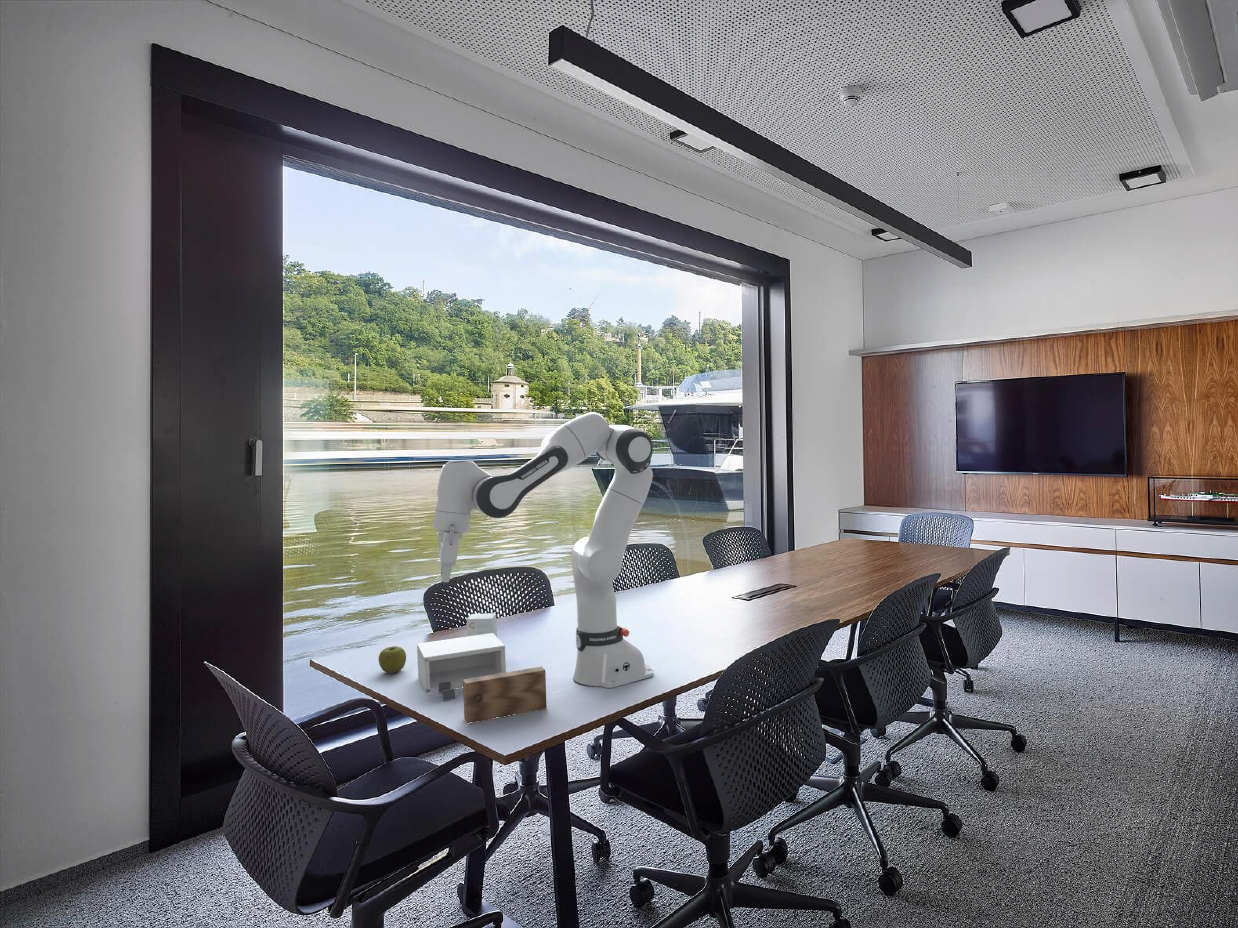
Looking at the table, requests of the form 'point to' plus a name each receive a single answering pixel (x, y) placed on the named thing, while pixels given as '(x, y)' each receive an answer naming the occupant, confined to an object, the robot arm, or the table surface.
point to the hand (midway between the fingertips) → (444, 579)
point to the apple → (392, 659)
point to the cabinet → (458, 662)
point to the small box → (481, 624)
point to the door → (504, 694)
